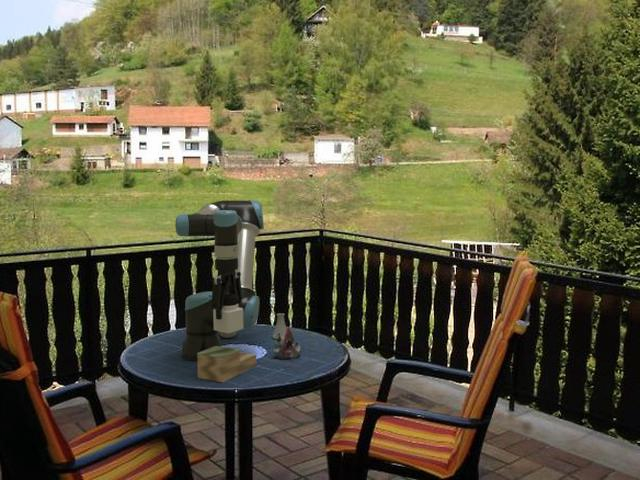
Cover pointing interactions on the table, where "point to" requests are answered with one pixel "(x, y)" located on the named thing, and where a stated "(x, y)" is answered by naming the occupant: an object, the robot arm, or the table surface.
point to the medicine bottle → (230, 314)
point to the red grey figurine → (286, 346)
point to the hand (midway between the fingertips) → (227, 325)
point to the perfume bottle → (227, 334)
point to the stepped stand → (223, 363)
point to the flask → (280, 325)
